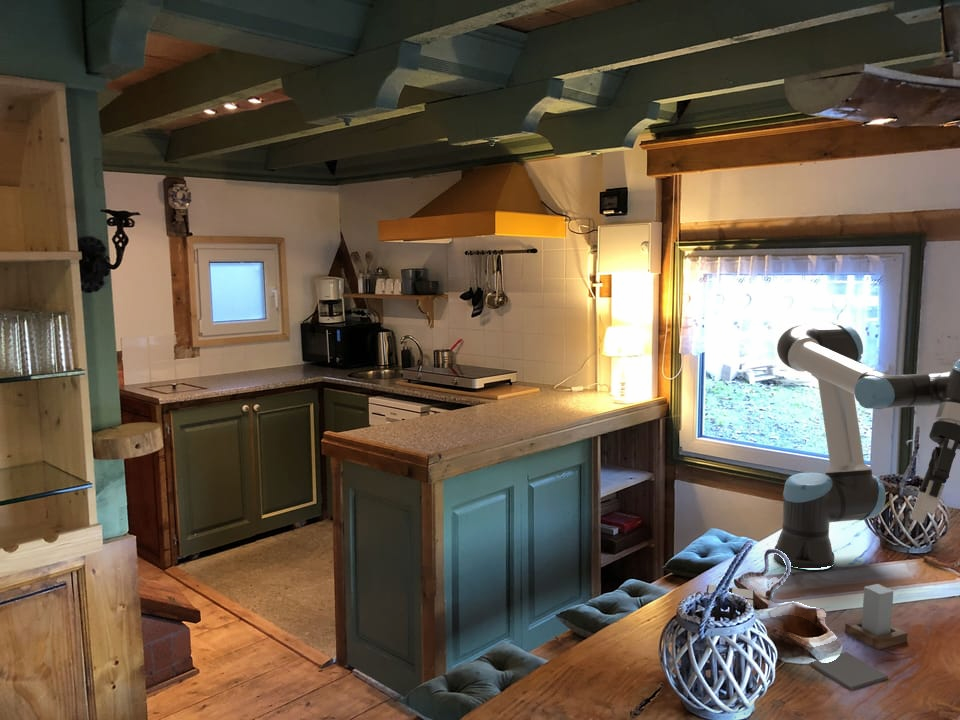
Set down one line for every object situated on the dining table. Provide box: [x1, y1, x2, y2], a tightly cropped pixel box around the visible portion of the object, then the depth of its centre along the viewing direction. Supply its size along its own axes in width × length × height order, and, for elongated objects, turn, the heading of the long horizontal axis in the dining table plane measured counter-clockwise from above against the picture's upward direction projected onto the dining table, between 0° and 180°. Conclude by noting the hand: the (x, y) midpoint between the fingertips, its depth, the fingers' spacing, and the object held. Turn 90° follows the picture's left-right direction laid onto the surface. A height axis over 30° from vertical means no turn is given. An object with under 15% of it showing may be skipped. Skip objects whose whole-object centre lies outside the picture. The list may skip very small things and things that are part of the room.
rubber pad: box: [809, 651, 889, 691], centre depth 156 cm, size 10×10×1 cm
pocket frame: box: [844, 618, 909, 651], centre depth 169 cm, size 9×9×2 cm
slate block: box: [861, 583, 894, 636], centre depth 169 cm, size 4×4×11 cm
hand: (921, 516), depth 167 cm, fingers open, 13 cm apart
